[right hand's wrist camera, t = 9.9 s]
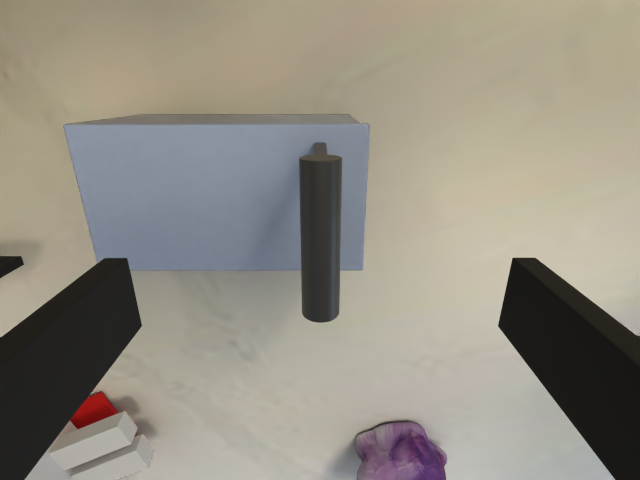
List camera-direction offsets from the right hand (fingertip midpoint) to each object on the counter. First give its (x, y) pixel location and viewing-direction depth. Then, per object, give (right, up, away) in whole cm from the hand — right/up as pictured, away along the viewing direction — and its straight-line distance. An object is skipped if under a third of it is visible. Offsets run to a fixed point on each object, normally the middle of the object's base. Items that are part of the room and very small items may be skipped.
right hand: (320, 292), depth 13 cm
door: (-6, +4, +11) cm, 13 cm away
